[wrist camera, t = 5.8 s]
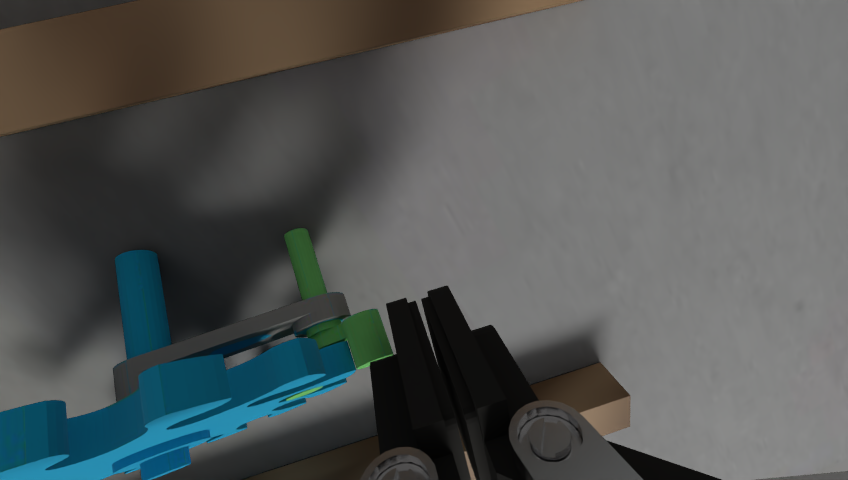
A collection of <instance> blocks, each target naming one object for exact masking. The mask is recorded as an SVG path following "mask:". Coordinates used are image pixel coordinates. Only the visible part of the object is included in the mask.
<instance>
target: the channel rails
mask: <svg viewBox="0 0 848 480" xmlns="http://www.w3.org/2000/svg"><path fill="white" fill-rule="evenodd" d="M578 1H582V0H137V1H133V2H128V3H123V4H118V5H114V6H109V7H104V8H99V9H95V10H90V11H85V12H80V13H76V14H71V15H66V16H61V17H57V18H52V19H47V20H42V21H38V22H33V23H28V24H23V25H19V26H14V27H9V28H5V29H0V137H2V136H7V135H11V134H15V133H19V132H24V131H28V130H32V129H36V128H41V127H45V126H49V125H54V124H58V123H62V122H66V121H71V120H75V119H79V118H83V117H88V116H92V115H96V114H100V113H105V112H109V111H113V110H118V109H122V108H126V107H130V106H135V105H139V104H143V103H147V102H152V101H156V100H160V99H164V98H169V97H173V96H177V95H181V94H186V93H190V92H194V91H199V90H203V89H207V88H211V87H216V86H220V85H224V84H228V83H233V82H237V81H241V80H245V79H250V78H254V77H258V76H263V75H267V74H271V73H275V72H280V71H284V70H288V69H292V68H297V67H301V66H305V65H309V64H314V63H318V62H322V61H326V60H331V59H335V58H339V57H344V56H348V55H352V54H356V53H361V52H365V51H369V50H373V49H378V48H382V47H386V46H390V45H395V44H399V43H403V42H408V41H412V40H416V39H420V38H425V37H429V36H433V35H437V34H442V33H446V32H450V31H454V30H459V29H463V28H467V27H471V26H476V25H480V24H484V23H489V22H493V21H497V20H501V19H506V18H510V17H514V16H518V15H523V14H527V13H531V12H535V11H540V10H544V9H548V8H553V7H557V6H561V5H565V4H570V3H574V2H578ZM530 387H531V388H532V390H533V391H534V393H535V395H536V396H537V398H538V400H539V401H542V400H551V401H557V402H561V403H564V404H566V405H568V406H570V407H573V408H574V409H575V410H576V411H578V412H579V413H580V414H581V415H582V416H583V417H584V418H585V419H586V420H587V421H588V422H589V423H590V424H591V425H592V426H593V427H594V428H595V429H596V430H597V431H598V432H599V433H600V435H601V436H604V435H607V434H610V433H613V432H615V431H618V430H621V429H624V428H627V427H630V395H629V394H628V393H627V391H626V390H625V389H624V388H623V387H622V386H621V385H620V384H619V382H618V381H617V380H616V379H615V378H614V377H613V376H612V375H611V374H610V372H609V371H608V370H607V369H606V368H605V367H604V366H603V365H602V364H601V362H600V363H597V364H594V365H591V366H588V367H585V368H582V369H579V370H576V371H573V372H570V373H567V374H564V375H561V376H557V377H554V378H551V379H548V380H545V381H542V382H539V383H536V384H533V385H530ZM459 433H460V432H459ZM460 437H461V434H460ZM461 441H462V445H463V449H464V453H465V457H466V461H467V465H468V469H469V473H470V477H471V480H476V478H475V475H474V472H473V469H472V467H471V464H470V461H469V458H468V455H467V452H466V449H465V446H464V443H463V440H462V437H461ZM378 456H380V451H379V442H378V435H377V436H374V437H371V438H368V439H365V440H362V441H359V442H356V443H353V444H350V445H347V446H344V447H341V448H338V449H335V450H332V451H329V452H326V453H323V454H319V455H316V456H313V457H310V458H307V459H304V460H301V461H298V462H295V463H292V464H289V465H286V466H283V467H280V468H277V469H274V470H271V471H268V472H265V473H261V474H258V475H255V476H252V477H249V478H246V479H243V480H360V479H361V477H362V475H363V473H364V472H365V470H366V468H367V467H368V466H369V465H370V464H371V463H372V462H373V460H374V459H375V458H377V457H378Z"/></svg>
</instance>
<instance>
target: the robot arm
mask: <svg viewBox="0 0 848 480" xmlns="http://www.w3.org/2000/svg"><path fill="white" fill-rule="evenodd" d="M421 300H422V305H423V308H424V312H425V316H426V320H427V324H428V328H429V332H430V335H431V339H432V343H433V347H434V351H435V355H436V359H437V362H436V359H435V356H434V353H433V350H432V347H431V344H430V341H429V338H428V336H427V333H426V330H425V327H424V324H423V321H422V318H421V315H420V312H419V309H418V307H417V304H416V301H413V302H410V303H408V302H407V299H406V298H404V299H400V300H397V301H394V302H390V303H387V304H386V306H387V311H388V315H389V320H390V325H391V329H392V334H393V339H394V343H395V348H396V353H397V354H395V355H392V356H389V357H386V358H382V359H379V360H376V361H373V362H370V372H371V381H372V389H373V398H374V407H375V416H376V424H377V433H378V442H379V451H380V456H378V457H377V458H375V459H374V460H373V462H372V463H371V464H370V465H369V466H368V467H367V468H366V470H365V472H364V473H363V475H362V477H361V479H360V480H471V477H470V473H469V469H468V465H467V461H466V457H465V453H464V449H463V445H462V441H461V437H462V440H463V443H464V446H465V449H466V452H467V455H468V458H469V461H470V464H471V467H472V469H473V472H474V475H475V478H476V480H721V479H718V478H715V477H712V476H709V475H706V474H704V473H701V472H698V471H695V470H692V469H689V468H686V467H683V466H680V465H677V464H674V463H671V462H668V461H665V460H662V459H659V458H656V457H653V456H651V455H648V454H645V453H642V452H639V451H636V450H633V449H630V448H627V447H624V446H621V445H618V444H615V443H612V442H609V441H606V440H605V439H604V438H603V437H602V436H601V435H600V433H599V432H598V431H597V430H596V429H595V428H594V427H593V426H592V425H591V424H590V423H589V422H588V421H587V420H586V419H585V418H584V417H583V416H582V415H581V414H580V413H579V412H578V411H576V410H575V409H574V408H573V407H570V406H568V405H566V404H564V403H561V402H557V401H551V400H542V401H539V400H538V398H537V396H536V395H535V393H534V391H533V390H532V388H531V387H530V385H529V383H528V382H527V380H526V378H525V377H524V375H523V374H522V372H521V370H520V369H519V367H518V365H517V364H516V362H515V361H514V359H513V357H512V356H511V354H510V352H509V351H508V349H507V348H506V346H505V344H504V343H503V341H502V339H501V338H500V336H499V335H498V333H497V331H496V330H495V328H494V327H493V326H492V325H488V326H485V327H482V328H479V329H475V330H472V331H471V330H470V328H469V326H468V324H467V322H466V320H465V318H464V316H463V314H462V312H461V310H460V308H459V306H458V304H457V303H456V301H455V299H454V297H453V295H452V293H451V291H450V289H449V287H448V286H444V287H440V288H437V289H434V290H430V291H428V297H426V298H423V299H421ZM437 363H438V365H437ZM438 366H439V367H438ZM459 432H460V433H459ZM460 434H461V437H460ZM756 480H848V471H845V472H834V473H823V474H812V475H801V476H790V477H779V478H767V479H756Z"/></svg>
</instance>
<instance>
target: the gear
mask: <svg viewBox="0 0 848 480" xmlns="http://www.w3.org/2000/svg"><path fill="white" fill-rule="evenodd" d="M284 238H285V242H286V245H287V249H288V252H289V256H290V259H291V263H292V266H293V270H294V273H295V277H296V280H297V284H298V287H299V291H300V294H301V298H302V301H299V302H296V303H293V304H290V305H287V306H284V307H281V308H278V309H275V310H272V311H270V312H267V313H264V314H261V315H258V316H255V317H252V318H249V319H246V320H243V321H240V322H237V323H234V324H231V325H228V326H225V327H222V328H219V329H216V330H213V331H210V332H207V333H204V334H201V335H198V336H195V337H192V338H189V339H187V340H184V341H181V342H178V343H175V344H172V342H171V336H170V330H169V324H168V318H167V312H166V306H165V300H164V293H163V287H162V281H161V275H160V269H159V263H158V257H157V254H156V253H155V252H153V251H149V250H133V251H128V252H124V253H122V254H120V255H118V256H117V257H116V258H115V266H116V274H117V282H118V290H119V298H120V307H121V315H122V323H123V331H124V339H125V347H126V355H127V360H125V361H123V362H121V363H119V364H117V365H116V366H115V367H114V368H113V374H114V383H115V392H116V401H117V402H116V403H114V404H112V405H110V406H108V407H106V408H103V409H101V410H98V411H95V412H91V413H88V414H85V415H81V416H77V417H73V418H69V419H67V416H66V403H65V402H64V401H59V400H51V401H43V402H38V403H34V404H30V405H26V406H22V407H18V408H14V409H10V410H7V411H3V412H0V480H101V479H104V478H106V477H108V476H111V475H113V474H117V473H122V472H125V474H127V473H130V472H133V471H136V470H139V469H141V478H142V480H152V479H154V478H157V477H160V476H163V475H165V474H168V473H170V472H173V471H175V470H178V469H180V468H183V467H185V466H187V465H189V464H191V459H190V453H189V449H190V448H192V447H195V446H197V445H199V444H202V443H204V442H206V441H207V443H210V442H213V441H216V440H219V439H221V438H224V437H227V436H229V435H232V434H234V433H237V432H240V431H242V430H245V429H246V428H247V424H246V423H247V422H249V421H252V420H255V419H257V418H260V417H263V416H266V415H268V417H273V416H276V415H279V414H281V413H284V412H286V411H289V410H291V409H294V408H296V407H298V406H301V405H303V404H305V403H306V399H305V398H310V397H314V396H317V395H320V394H323V393H325V392H328V391H330V390H332V389H334V388H336V387H338V386H340V385H342V384H344V383H346V382H347V381H346V377H348V376H350V375H352V374H353V373H354V372H355V371H356V368H357V369H362V368H365V367H368V366H370V362H373V361H376V360H379V359H382V358H386V357H389V356H392V355H393V352H392V349H391V346H390V343H389V340H388V337H387V335H386V332H385V329H384V326H383V323H382V320H381V318H380V315H379V312H378V310H377V309H370V310H366V311H362V312H359V313H357V314H354V315H352V316H351V315H350V312H349V309H348V306H347V302H346V299H345V296H344V294H343V293H340V292H332V293H327V291H326V287H325V284H324V281H323V278H322V275H321V271H320V268H319V265H318V262H317V258H316V255H315V252H314V249H313V246H312V242H311V239H310V236H309V233H308V230H307V229H304V228H298V229H293V230H291V231H289V232H287V233H286V234H285V235H284ZM291 334H295V337H308V338H296V339H293V340H289V341H287V342H284V343H281V344H279V345H277V346H274V347H273V348H271V349H269V350H267V351H266V352H264V353H262V354H261V355H259V356H257V357H255V358H253V359H251V360H249V361H247V362H245V363H243V364H240V365H238V366H236V367H233V368H231V369H228V370H226V368H225V363H224V358H226V357H229V356H232V355H235V354H237V353H240V352H243V351H246V350H249V349H252V348H254V347H257V346H260V345H263V344H266V343H269V342H271V341H274V340H277V339H280V338H283V337H285V336H288V335H291ZM347 340H348V342H347ZM348 343H349V346H350V349H351V352H352V355H351V352H350V349H349V346H348ZM352 356H353V358H352ZM353 359H354V361H353ZM354 362H355V365H356V368H355V365H354Z"/></svg>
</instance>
